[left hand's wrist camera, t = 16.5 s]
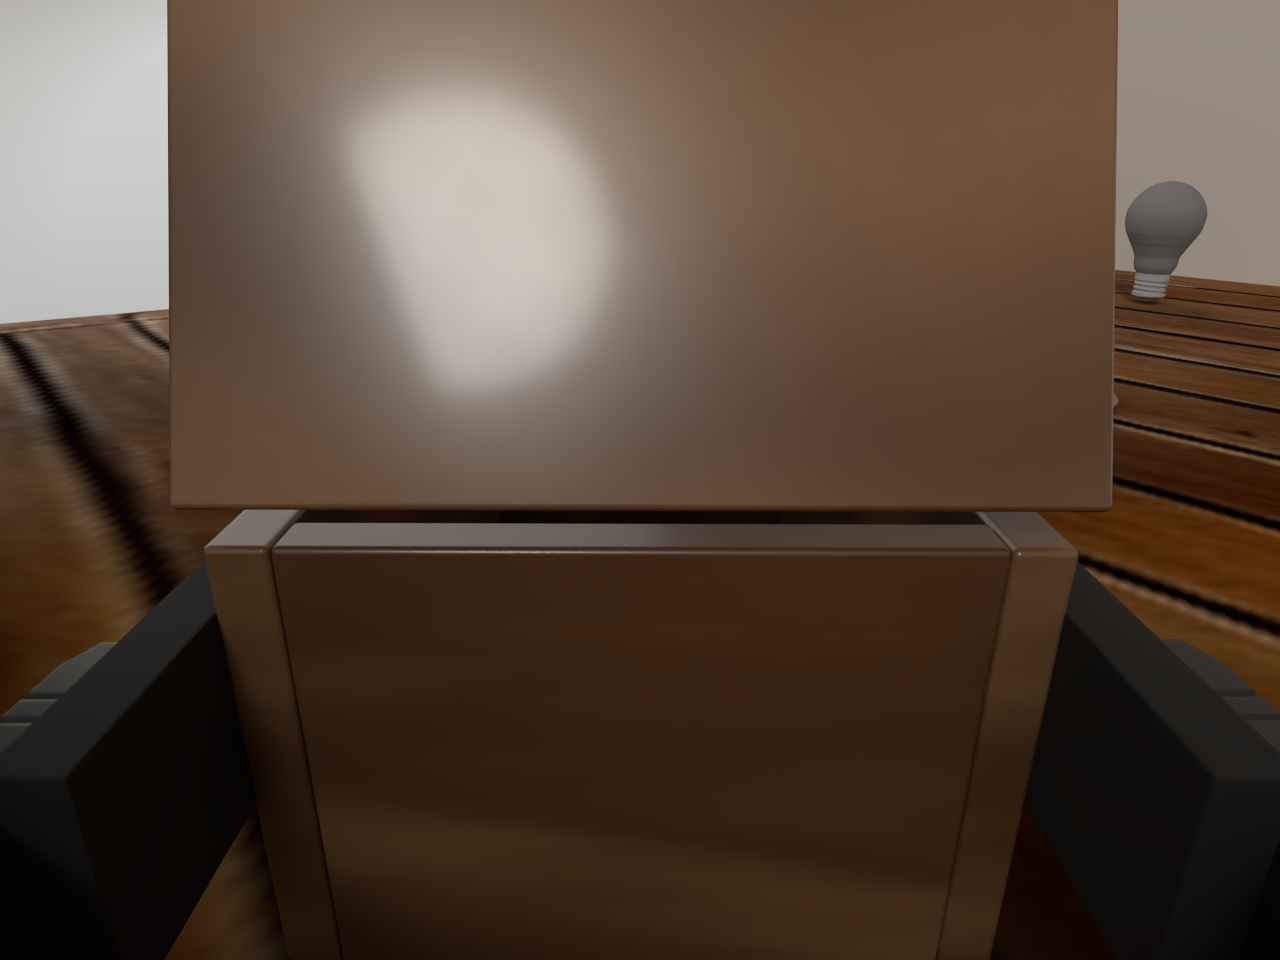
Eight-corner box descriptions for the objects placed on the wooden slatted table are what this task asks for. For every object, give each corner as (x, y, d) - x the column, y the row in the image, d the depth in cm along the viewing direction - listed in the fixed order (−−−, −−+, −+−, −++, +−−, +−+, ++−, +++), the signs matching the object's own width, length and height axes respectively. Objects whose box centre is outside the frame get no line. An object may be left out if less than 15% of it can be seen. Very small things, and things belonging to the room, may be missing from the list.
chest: (486, 583, 26) (465, 301, 23) (792, 583, 26) (815, 302, 23) (312, 1082, 12) (198, 547, 9) (965, 1084, 12) (1083, 551, 9)
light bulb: (1125, 305, 73) (1151, 182, 69) (1098, 294, 78) (1121, 179, 75) (1199, 306, 72) (1229, 182, 69) (1167, 295, 78) (1193, 180, 74)
